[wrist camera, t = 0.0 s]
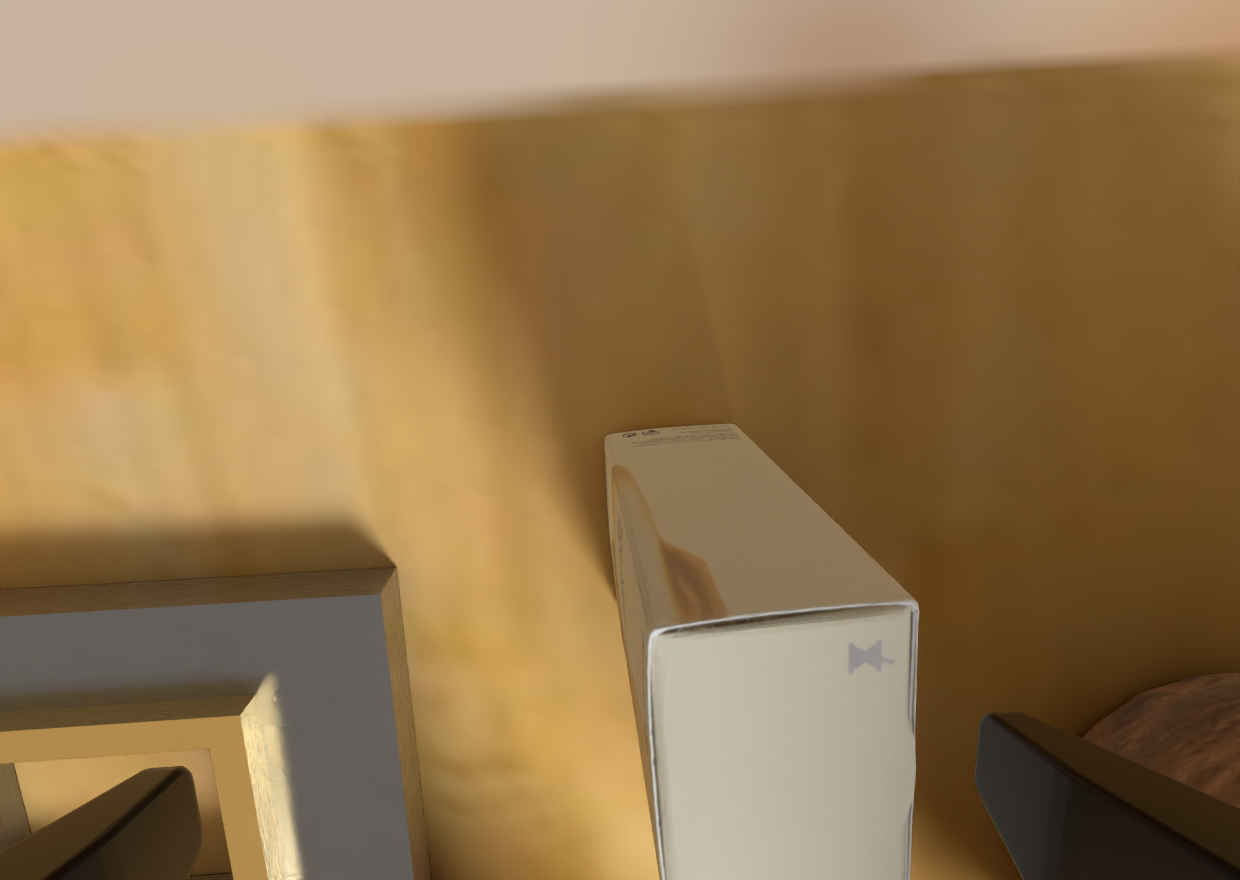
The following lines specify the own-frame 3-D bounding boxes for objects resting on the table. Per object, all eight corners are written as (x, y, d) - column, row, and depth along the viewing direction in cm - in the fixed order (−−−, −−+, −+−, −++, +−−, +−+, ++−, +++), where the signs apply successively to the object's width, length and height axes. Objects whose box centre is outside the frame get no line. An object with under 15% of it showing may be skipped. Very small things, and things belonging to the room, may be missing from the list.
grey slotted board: (446, 1013, 27) (430, 1103, 24) (28, 1053, 26) (-41, 1151, 23) (396, 567, 23) (371, 609, 20) (-100, 595, 22) (-203, 644, 19)
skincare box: (600, 431, 22) (637, 607, 10) (738, 419, 22) (927, 579, 11) (616, 619, 24) (663, 963, 12) (744, 606, 24) (918, 932, 12)
